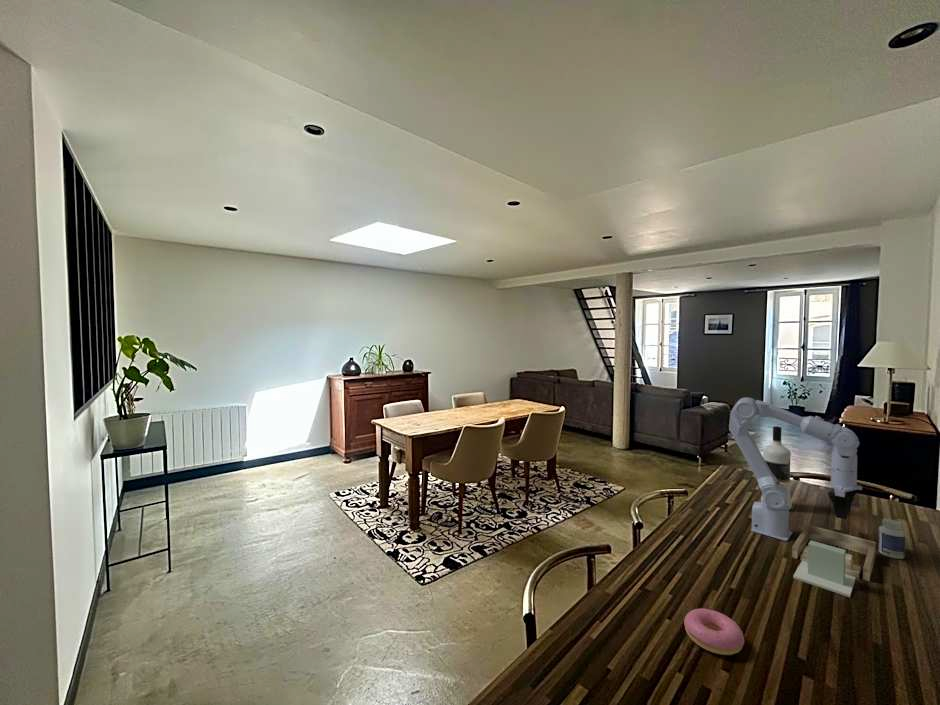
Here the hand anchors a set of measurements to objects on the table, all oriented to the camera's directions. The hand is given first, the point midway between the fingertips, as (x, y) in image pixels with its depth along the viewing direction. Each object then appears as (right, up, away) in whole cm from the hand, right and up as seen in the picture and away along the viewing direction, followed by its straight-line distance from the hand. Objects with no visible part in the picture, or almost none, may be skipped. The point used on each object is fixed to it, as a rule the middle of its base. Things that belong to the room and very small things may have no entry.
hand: (842, 514), depth 122 cm
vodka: (+4, -10, +32) cm, 34 cm away
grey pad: (-19, -11, -15) cm, 26 cm away
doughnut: (-60, -12, -36) cm, 71 cm away
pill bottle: (+11, -11, -3) cm, 16 cm away
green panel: (-18, -10, -15) cm, 26 cm away
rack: (-6, -11, -4) cm, 13 cm away
